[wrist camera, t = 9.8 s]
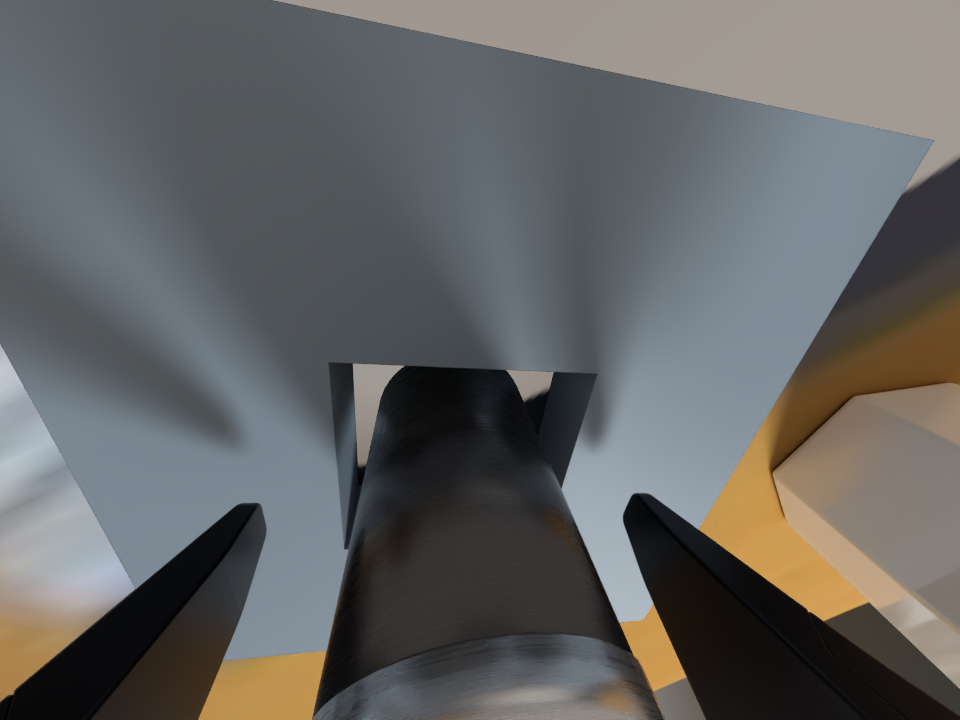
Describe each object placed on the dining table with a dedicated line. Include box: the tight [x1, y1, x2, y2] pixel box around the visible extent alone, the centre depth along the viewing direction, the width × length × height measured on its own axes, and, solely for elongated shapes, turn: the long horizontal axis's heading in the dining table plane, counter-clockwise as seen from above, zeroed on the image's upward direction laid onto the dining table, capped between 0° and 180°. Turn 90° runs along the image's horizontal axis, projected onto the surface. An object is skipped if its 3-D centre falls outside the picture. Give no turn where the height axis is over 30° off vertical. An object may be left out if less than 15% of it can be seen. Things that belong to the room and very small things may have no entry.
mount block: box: [0, 0, 934, 661], centre depth 11 cm, size 18×18×2 cm
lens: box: [312, 366, 665, 720], centre depth 8 cm, size 5×5×9 cm
